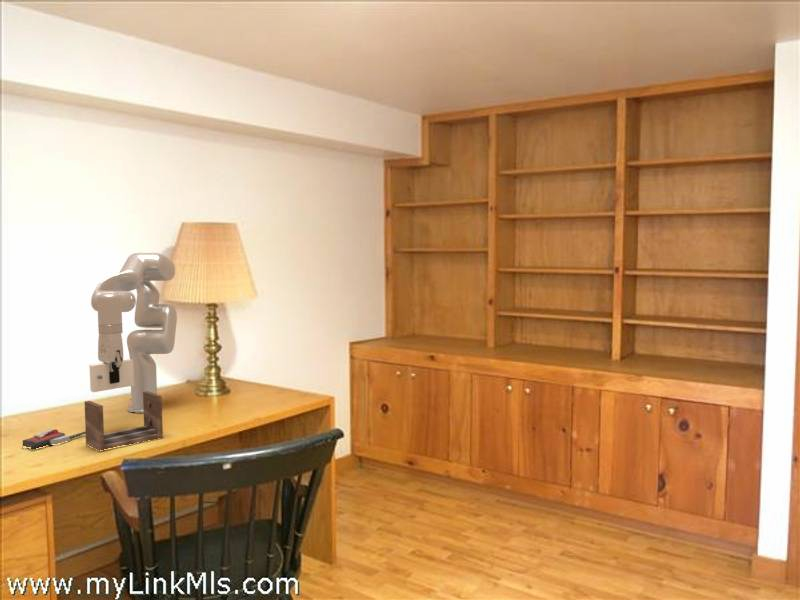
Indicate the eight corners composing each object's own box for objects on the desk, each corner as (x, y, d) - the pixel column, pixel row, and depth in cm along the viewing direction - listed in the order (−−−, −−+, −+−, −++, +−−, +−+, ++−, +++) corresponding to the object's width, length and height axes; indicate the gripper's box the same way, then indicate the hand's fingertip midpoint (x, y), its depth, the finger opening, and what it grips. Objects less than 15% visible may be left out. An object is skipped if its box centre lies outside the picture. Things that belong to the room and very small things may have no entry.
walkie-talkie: (37, 453, 209) (89, 436, 227) (37, 439, 208) (88, 423, 227) (17, 450, 212) (70, 433, 231) (17, 436, 212) (69, 421, 230)
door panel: (130, 384, 235) (129, 359, 234) (135, 385, 233) (134, 360, 232) (90, 391, 225) (89, 364, 224) (95, 392, 223) (93, 366, 222)
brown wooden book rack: (148, 432, 231) (147, 391, 230) (162, 438, 224) (161, 395, 223) (86, 445, 216) (84, 401, 214) (99, 452, 209) (97, 406, 208)
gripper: (89, 328, 230) (91, 380, 232) (109, 332, 219) (112, 387, 221) (111, 325, 236) (113, 377, 237) (132, 330, 225) (134, 384, 227)
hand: (112, 381), depth 229 cm, fingers closed on door panel, 2 cm apart
